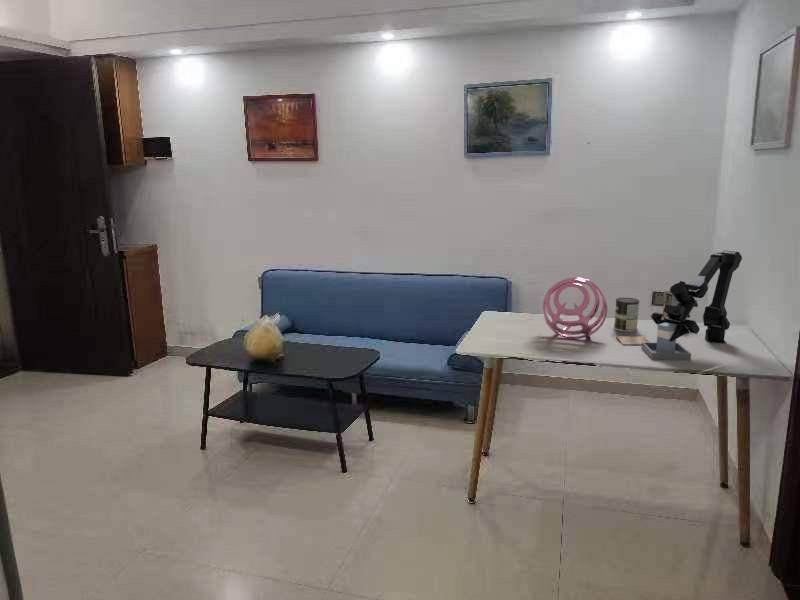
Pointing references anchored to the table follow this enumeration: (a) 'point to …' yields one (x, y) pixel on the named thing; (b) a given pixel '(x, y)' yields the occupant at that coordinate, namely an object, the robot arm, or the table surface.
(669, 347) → the carton
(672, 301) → the coffee box
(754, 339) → the table surface
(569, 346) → the table surface
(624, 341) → the pad
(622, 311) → the coffee can
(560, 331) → the spiral basket
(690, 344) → the table surface
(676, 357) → the tray
